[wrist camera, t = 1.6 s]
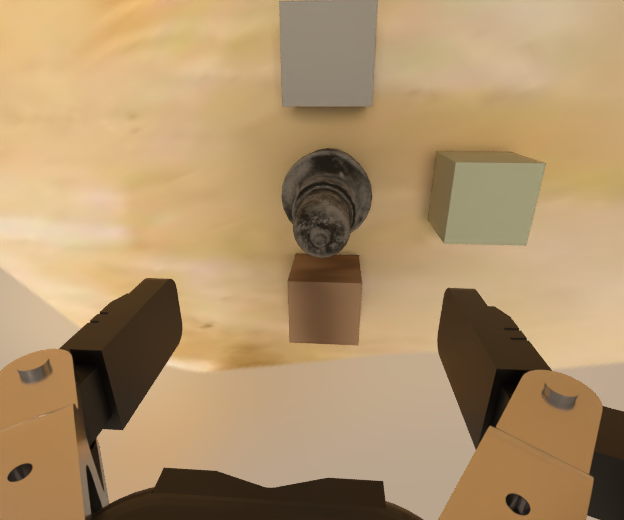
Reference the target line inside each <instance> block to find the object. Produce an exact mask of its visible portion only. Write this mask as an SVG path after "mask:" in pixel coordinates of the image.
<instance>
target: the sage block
mask: <svg viewBox="0 0 624 520" xmlns="http://www.w3.org/2000/svg"><path fill="white" fill-rule="evenodd" d="M545 165H546V163H543V162H540V161H537V160H534V159H531V158H528V157H525V156H522V155H518V154H515V153H512V152H455V151H436V159H435V167H434V175H433V183H432V191H431V199H430V207H429V215H428V221H429V223H430V224H431V225H432V227H433V228H434V230H435V231H436V233H437V234H438V236H439V237H440V238H441V240H442V241H443V243H444V244H484V245H525V246H526V244H527V240H528V236H529V232H530V228H531V224H532V219H533V215H534V211H535V207H536V203H537V199H538V194H539V190H540V186H541V182H542V178H543V174H544V169H545Z"/></svg>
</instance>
